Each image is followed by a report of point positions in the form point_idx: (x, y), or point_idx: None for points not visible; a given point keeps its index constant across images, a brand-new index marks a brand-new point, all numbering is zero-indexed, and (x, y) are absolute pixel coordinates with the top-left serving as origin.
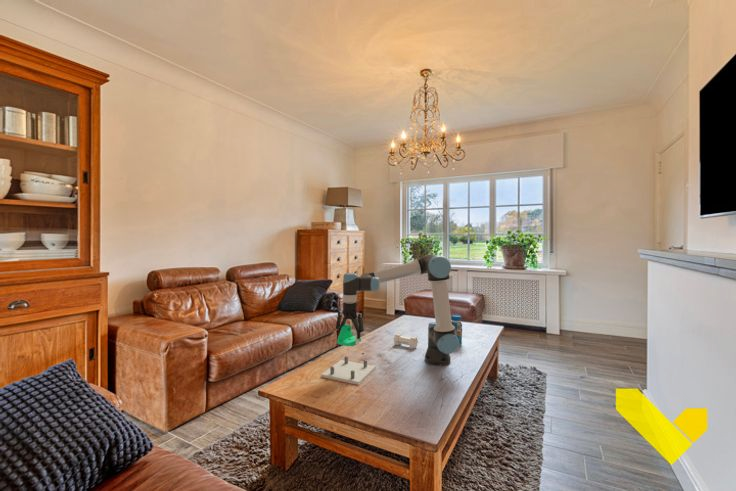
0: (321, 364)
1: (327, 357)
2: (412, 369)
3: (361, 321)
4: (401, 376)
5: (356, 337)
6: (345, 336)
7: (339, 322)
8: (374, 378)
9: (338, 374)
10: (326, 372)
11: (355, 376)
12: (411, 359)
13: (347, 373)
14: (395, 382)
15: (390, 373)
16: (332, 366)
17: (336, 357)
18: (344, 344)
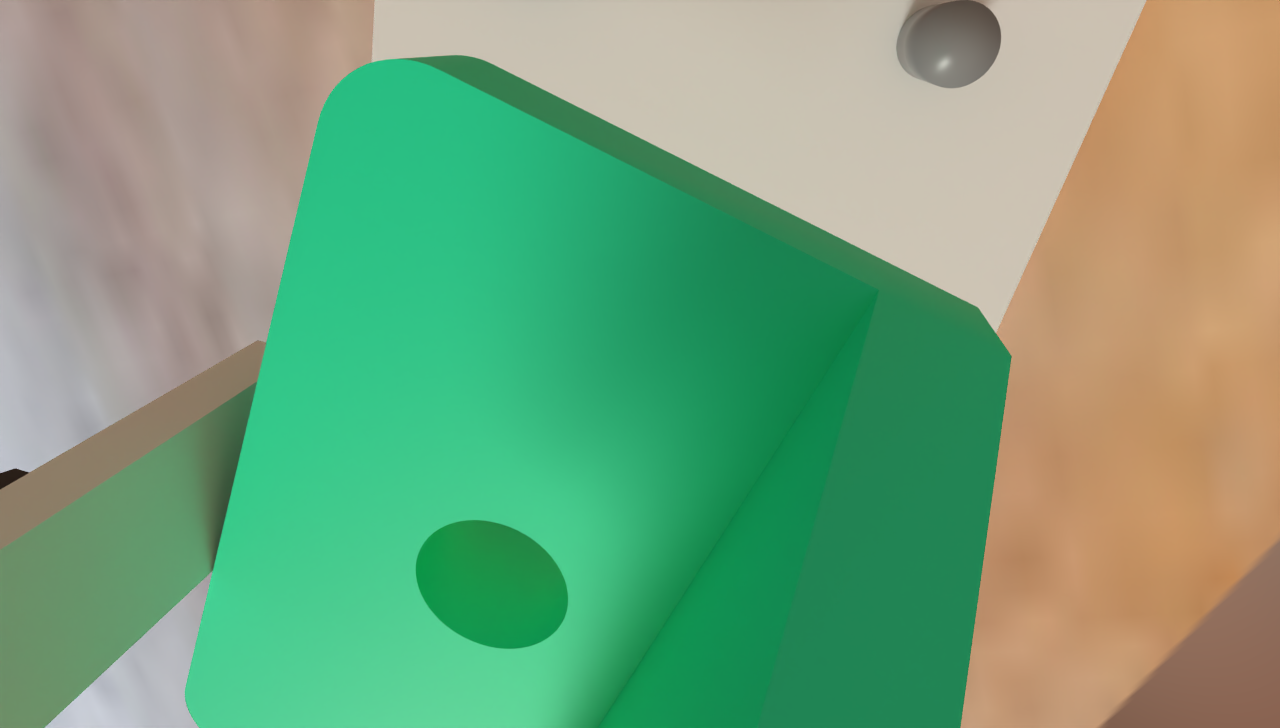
0: (1186, 470)
1: (1111, 700)
2: (6, 458)
3: None
4: (21, 255)
5: (18, 487)
6: (645, 699)
7: None
8: (282, 123)
9: (810, 35)
10: (1057, 70)
11: (505, 20)
12: (118, 684)
13: (664, 112)
14: (3, 58)
15: (164, 318)
16: (959, 81)
17: (970, 703)
18: (575, 117)
